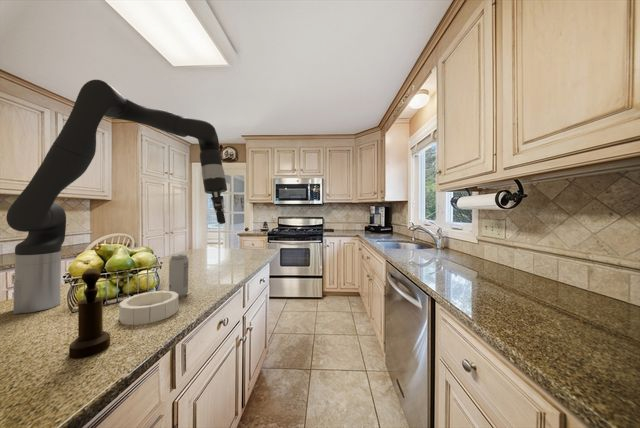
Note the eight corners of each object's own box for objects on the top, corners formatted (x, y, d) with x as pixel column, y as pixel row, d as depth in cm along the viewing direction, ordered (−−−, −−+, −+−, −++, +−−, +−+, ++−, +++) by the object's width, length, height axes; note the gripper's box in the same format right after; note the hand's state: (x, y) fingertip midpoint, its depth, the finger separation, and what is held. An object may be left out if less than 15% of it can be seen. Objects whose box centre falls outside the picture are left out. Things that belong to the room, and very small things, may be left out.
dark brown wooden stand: (78, 345, 54) (79, 267, 53) (114, 339, 56) (115, 265, 56) (61, 362, 48) (63, 274, 47) (103, 354, 50) (104, 271, 50)
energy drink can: (172, 293, 87) (172, 253, 87) (189, 292, 89) (190, 253, 89) (166, 299, 82) (166, 256, 81) (185, 298, 83) (186, 256, 83)
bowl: (125, 330, 61) (126, 312, 60) (115, 314, 70) (115, 299, 70) (184, 313, 71) (184, 298, 71) (168, 301, 80) (169, 288, 80)
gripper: (205, 184, 90) (212, 225, 89) (199, 175, 76) (208, 223, 76) (226, 182, 92) (233, 222, 92) (224, 173, 79) (232, 220, 78)
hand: (221, 223), depth 84 cm, fingers open, 8 cm apart
